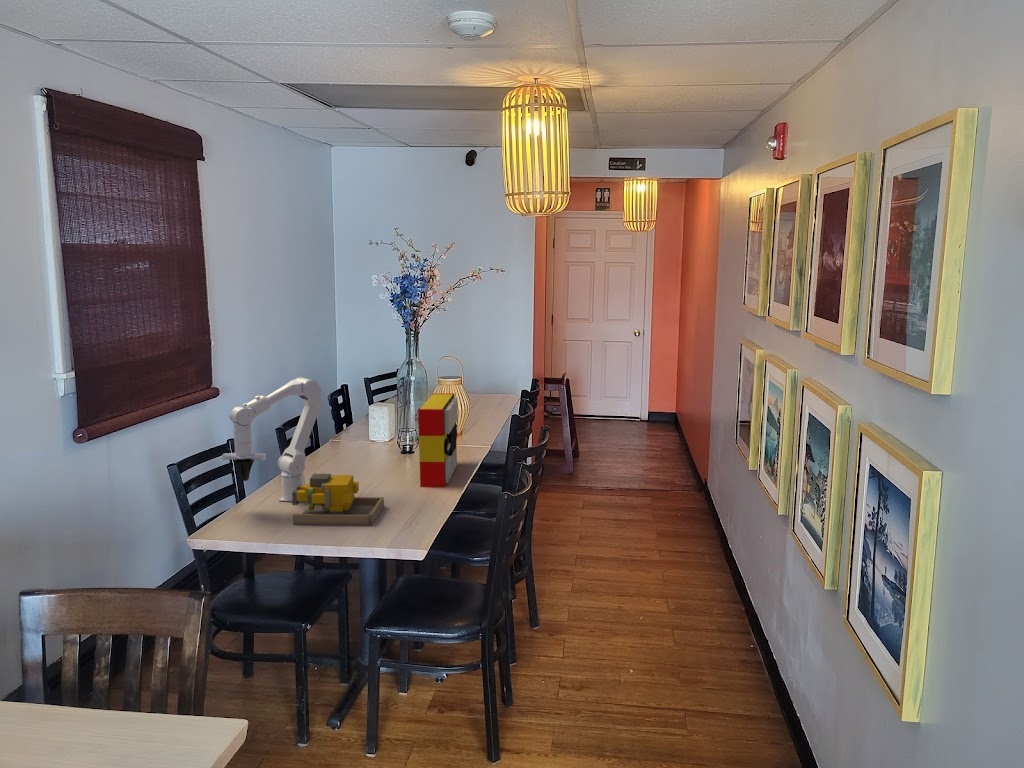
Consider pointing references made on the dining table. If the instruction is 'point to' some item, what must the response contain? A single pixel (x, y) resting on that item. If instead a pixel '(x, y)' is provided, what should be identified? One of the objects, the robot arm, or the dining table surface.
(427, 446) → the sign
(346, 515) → the tray
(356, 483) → the toy
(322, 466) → the dining table surface
